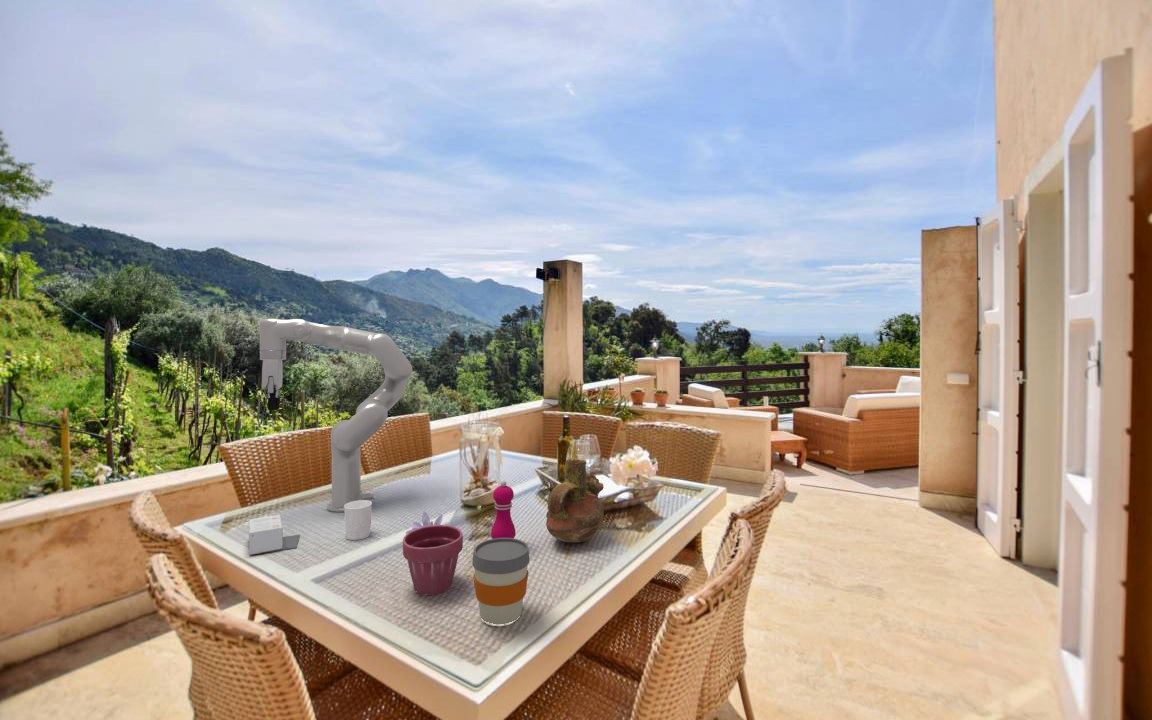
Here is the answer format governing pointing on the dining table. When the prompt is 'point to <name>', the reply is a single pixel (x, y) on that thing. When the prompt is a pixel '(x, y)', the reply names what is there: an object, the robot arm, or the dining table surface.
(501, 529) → the pepper mill
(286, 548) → the mat
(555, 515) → the ceramic vessel
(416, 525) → the water lily
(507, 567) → the reusable coffee cup
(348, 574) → the dining table surface
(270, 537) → the small box
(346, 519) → the white cup
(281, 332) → the robot arm
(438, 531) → the plant pot
